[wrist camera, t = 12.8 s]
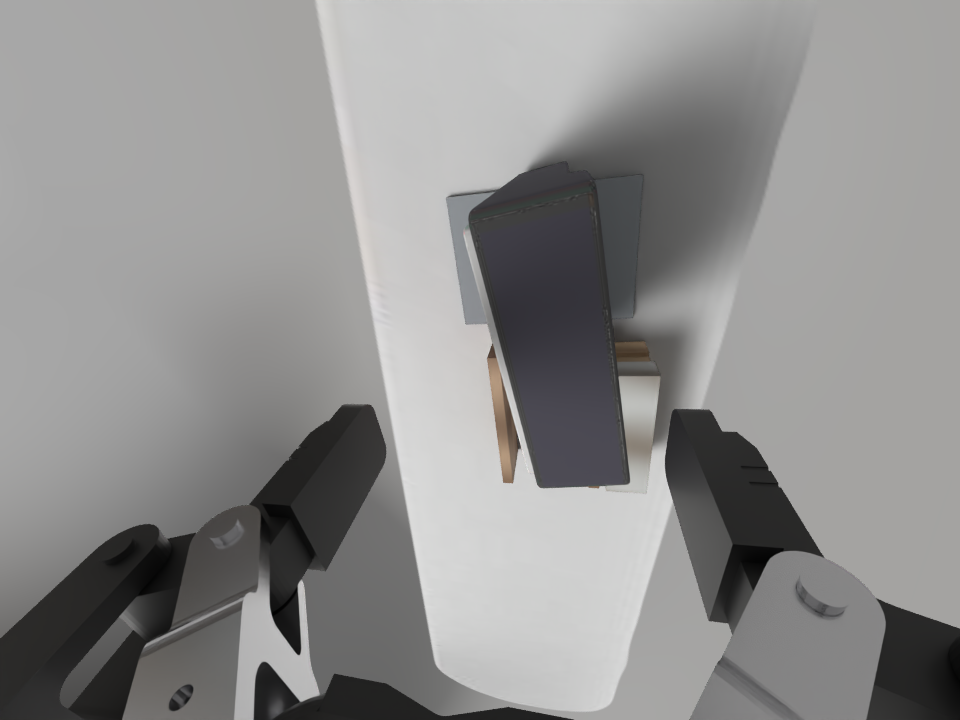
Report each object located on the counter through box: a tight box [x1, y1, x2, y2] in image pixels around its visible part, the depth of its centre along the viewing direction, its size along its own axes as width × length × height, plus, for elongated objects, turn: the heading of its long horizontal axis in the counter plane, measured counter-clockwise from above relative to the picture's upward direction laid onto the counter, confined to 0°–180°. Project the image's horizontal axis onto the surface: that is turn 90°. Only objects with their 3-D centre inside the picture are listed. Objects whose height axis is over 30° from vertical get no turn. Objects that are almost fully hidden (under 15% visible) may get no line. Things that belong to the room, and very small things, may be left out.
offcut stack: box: [606, 341, 661, 494], centre depth 28 cm, size 11×3×5 cm, turn 7°
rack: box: [487, 343, 599, 488], centre depth 30 cm, size 12×8×4 cm, turn 7°
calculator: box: [463, 162, 630, 488], centre depth 19 cm, size 11×4×15 cm, turn 15°
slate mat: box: [446, 174, 643, 324], centre depth 26 cm, size 9×12×1 cm
